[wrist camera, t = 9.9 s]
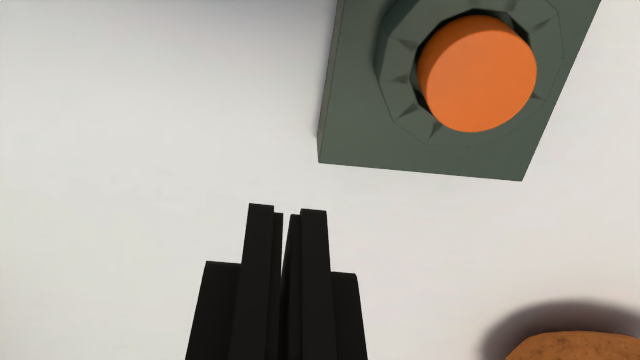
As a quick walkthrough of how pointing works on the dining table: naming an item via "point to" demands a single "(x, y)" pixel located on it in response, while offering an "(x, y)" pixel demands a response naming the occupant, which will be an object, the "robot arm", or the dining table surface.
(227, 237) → the dining table surface
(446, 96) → the button
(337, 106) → the control block
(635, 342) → the potato
